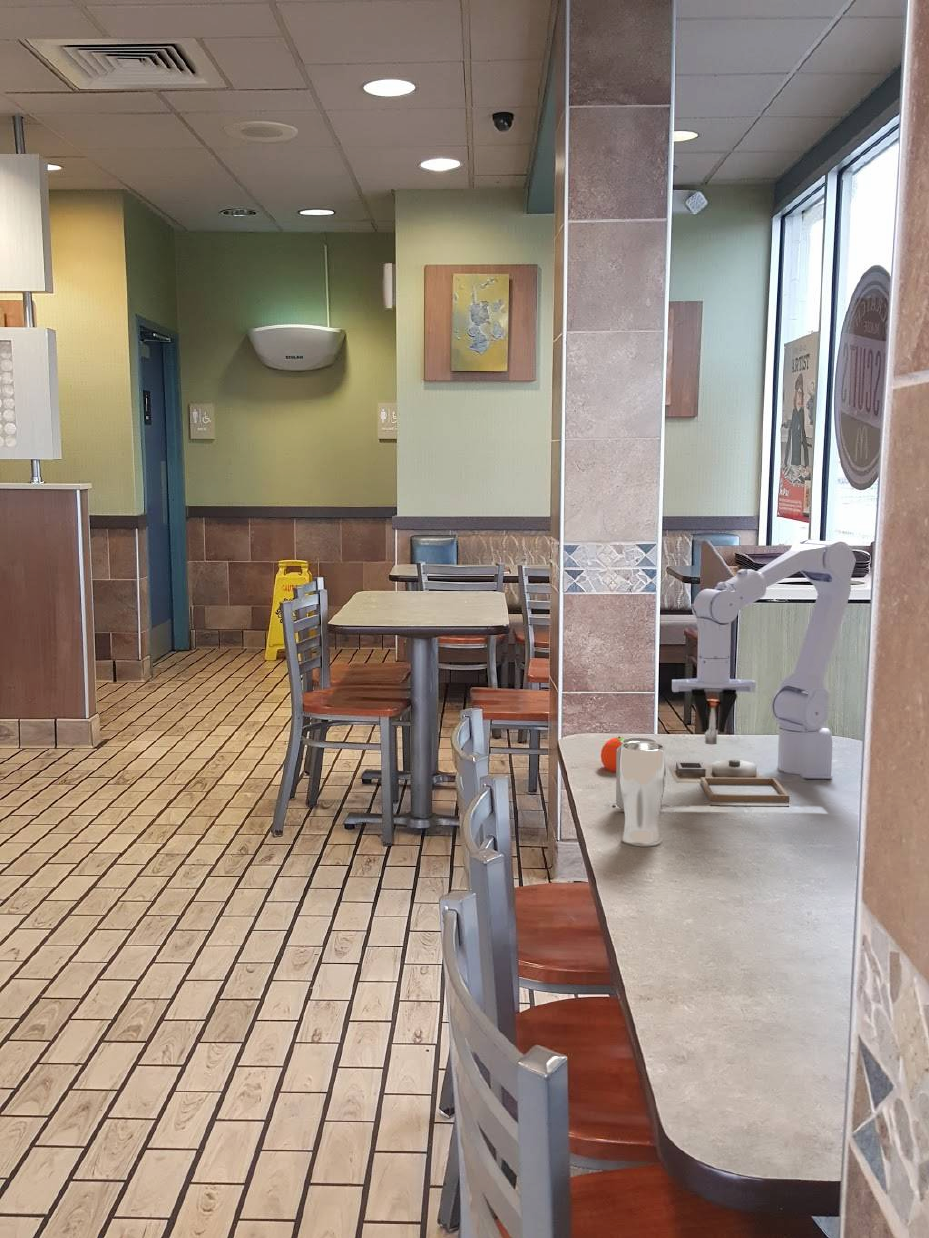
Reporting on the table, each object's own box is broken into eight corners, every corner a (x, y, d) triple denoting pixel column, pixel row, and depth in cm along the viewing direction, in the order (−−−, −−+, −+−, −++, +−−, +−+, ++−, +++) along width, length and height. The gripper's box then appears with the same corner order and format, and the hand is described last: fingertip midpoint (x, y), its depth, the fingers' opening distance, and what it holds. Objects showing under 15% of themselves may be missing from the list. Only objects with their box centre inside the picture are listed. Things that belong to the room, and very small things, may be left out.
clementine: (648, 772, 213) (649, 735, 212) (633, 781, 207) (634, 743, 206) (610, 767, 217) (610, 731, 216) (594, 775, 211) (594, 738, 210)
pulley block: (752, 770, 214) (752, 753, 213) (765, 788, 202) (765, 769, 201) (667, 769, 214) (667, 752, 214) (675, 787, 203) (675, 768, 202)
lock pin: (717, 741, 204) (719, 699, 203) (719, 745, 201) (722, 702, 200) (701, 740, 204) (703, 698, 203) (704, 744, 201) (706, 702, 200)
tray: (774, 788, 201) (775, 777, 201) (789, 807, 190) (789, 795, 190) (700, 788, 202) (700, 777, 202) (710, 806, 191) (710, 794, 191)
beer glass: (667, 835, 176) (669, 742, 174) (660, 849, 169) (662, 752, 167) (623, 831, 178) (624, 739, 176) (614, 845, 171) (615, 749, 169)
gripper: (751, 653, 204) (749, 726, 205) (670, 652, 205) (669, 725, 207) (758, 659, 197) (756, 735, 199) (674, 659, 198) (673, 734, 200)
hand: (712, 730), depth 202 cm, fingers closed on lock pin, 2 cm apart
